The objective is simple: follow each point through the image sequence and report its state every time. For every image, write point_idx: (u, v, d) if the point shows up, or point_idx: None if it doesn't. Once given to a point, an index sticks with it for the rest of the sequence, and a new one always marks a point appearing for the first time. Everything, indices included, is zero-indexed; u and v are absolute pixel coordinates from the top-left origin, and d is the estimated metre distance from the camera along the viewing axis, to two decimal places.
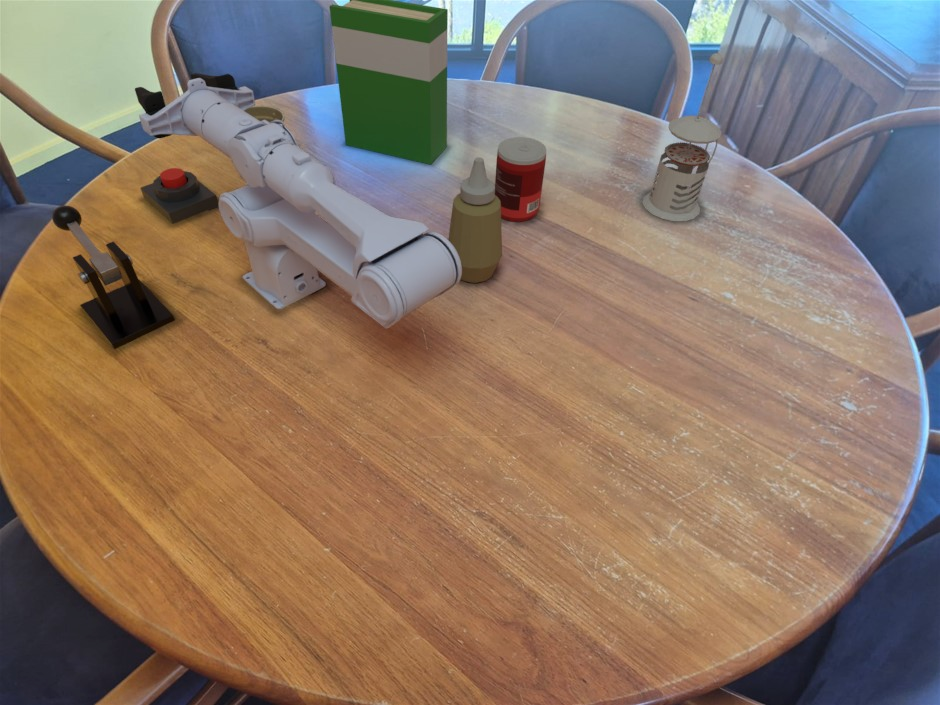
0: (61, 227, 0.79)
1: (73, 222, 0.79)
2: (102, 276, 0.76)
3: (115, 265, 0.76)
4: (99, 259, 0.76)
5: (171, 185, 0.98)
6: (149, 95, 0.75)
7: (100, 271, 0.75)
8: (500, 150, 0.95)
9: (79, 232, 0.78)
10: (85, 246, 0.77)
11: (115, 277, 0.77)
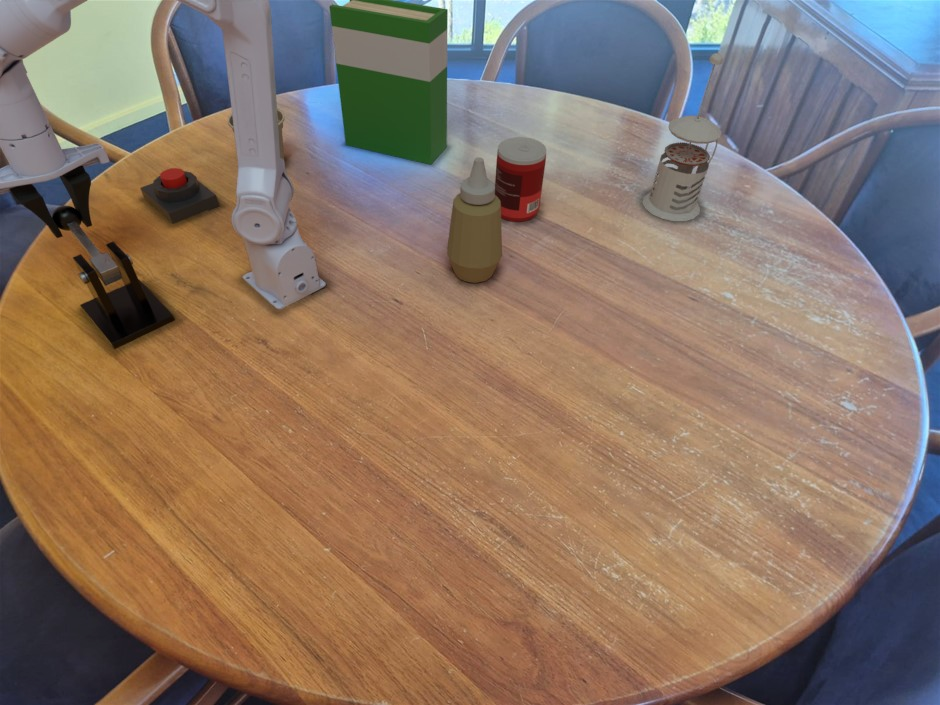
0: (61, 227, 0.79)
1: (73, 222, 0.79)
2: (102, 276, 0.76)
3: (115, 265, 0.76)
4: (99, 259, 0.76)
5: (171, 185, 0.98)
6: None
7: (100, 271, 0.75)
8: (500, 150, 0.95)
9: (79, 232, 0.78)
10: (85, 246, 0.77)
11: (115, 277, 0.77)
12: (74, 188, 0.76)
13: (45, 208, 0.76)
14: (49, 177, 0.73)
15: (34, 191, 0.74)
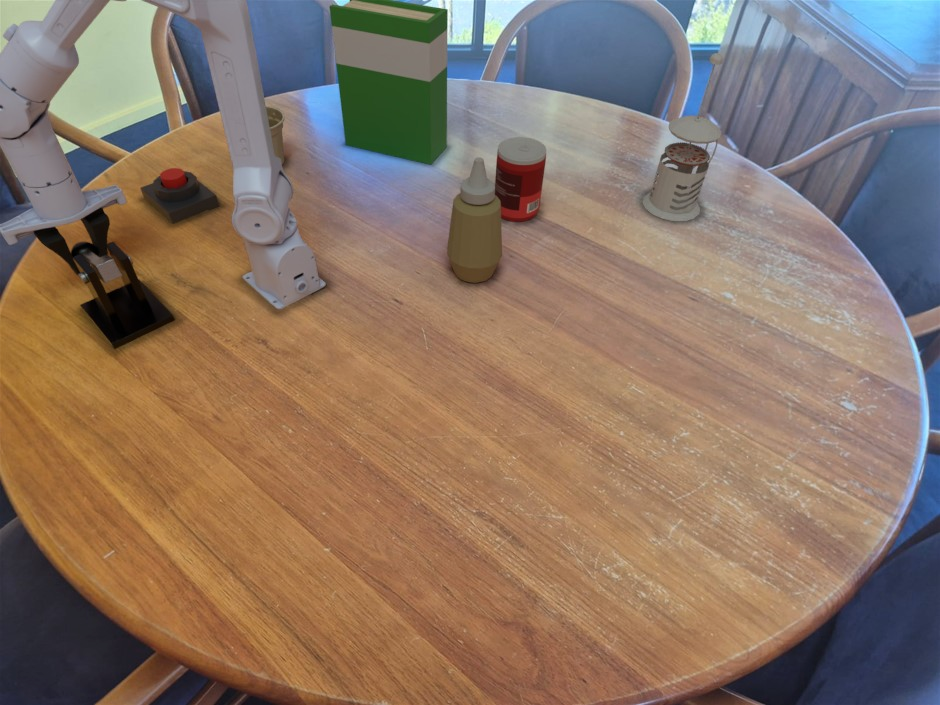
0: None
1: (87, 251, 0.82)
2: (98, 270, 0.75)
3: (111, 258, 0.76)
4: (98, 259, 0.77)
5: (171, 185, 0.98)
6: None
7: (96, 265, 0.75)
8: (500, 150, 0.95)
9: (90, 254, 0.81)
10: (92, 260, 0.79)
11: (113, 273, 0.76)
12: (94, 229, 0.80)
13: (66, 248, 0.80)
14: (71, 220, 0.77)
15: (56, 233, 0.78)
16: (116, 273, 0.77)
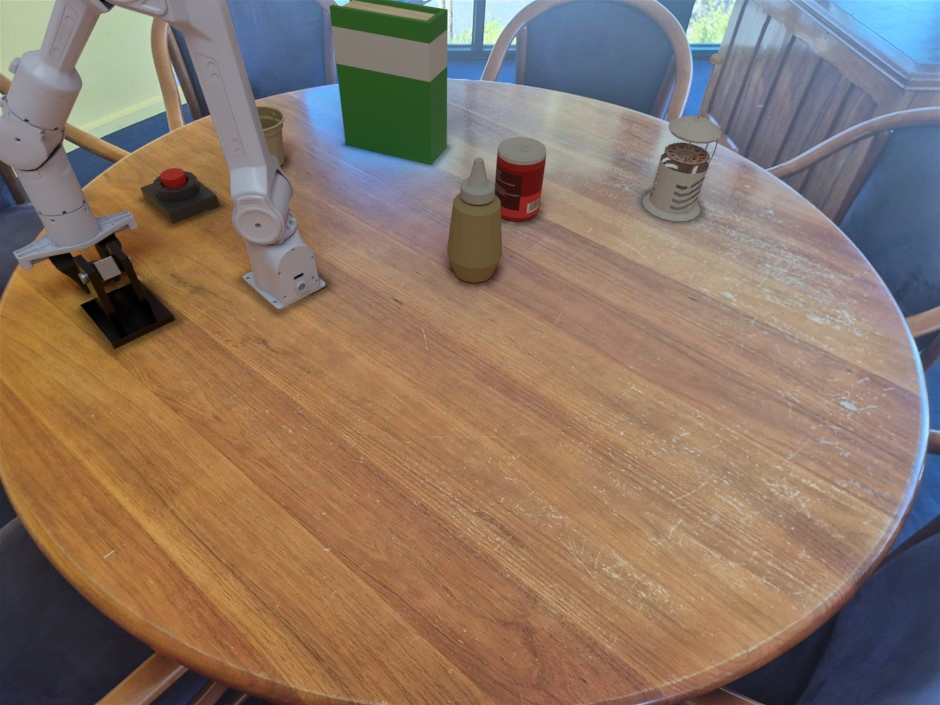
0: None
1: None
2: (97, 267, 0.75)
3: (109, 256, 0.76)
4: None
5: (171, 185, 0.98)
6: None
7: (94, 262, 0.75)
8: (500, 150, 0.95)
9: None
10: None
11: (112, 271, 0.76)
12: (106, 254, 0.83)
13: None
14: (84, 246, 0.80)
15: (70, 258, 0.81)
16: (115, 270, 0.76)
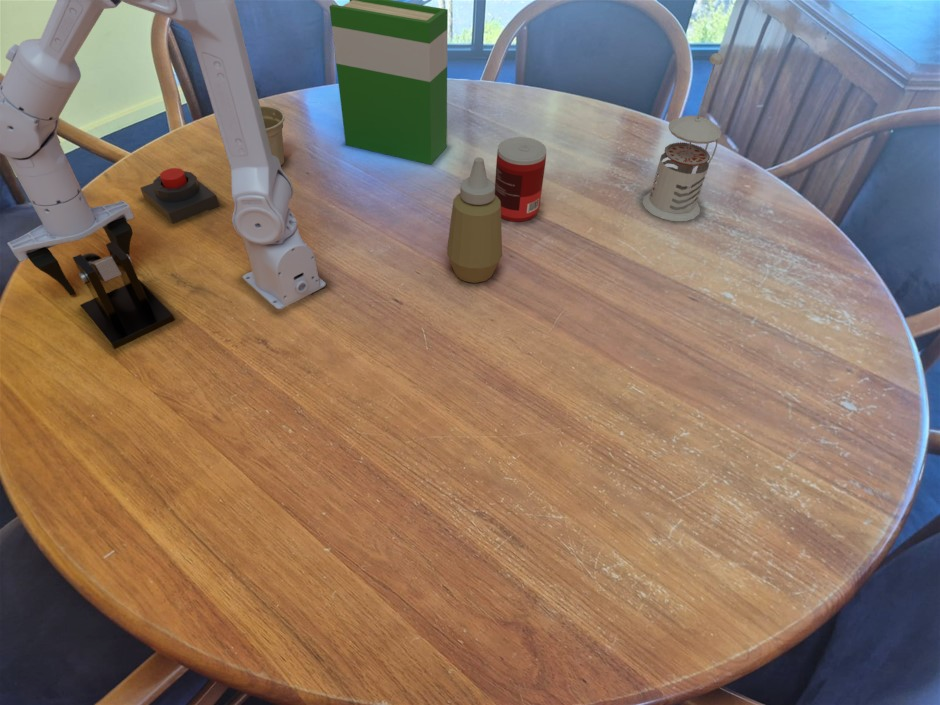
0: None
1: (93, 261, 0.83)
2: (97, 268, 0.75)
3: (110, 257, 0.76)
4: (98, 260, 0.77)
5: (171, 185, 0.98)
6: None
7: (95, 263, 0.75)
8: (500, 150, 0.95)
9: None
10: None
11: (113, 272, 0.76)
12: (117, 239, 0.83)
13: (60, 270, 0.80)
14: (80, 237, 0.79)
15: (49, 255, 0.79)
16: (115, 271, 0.76)
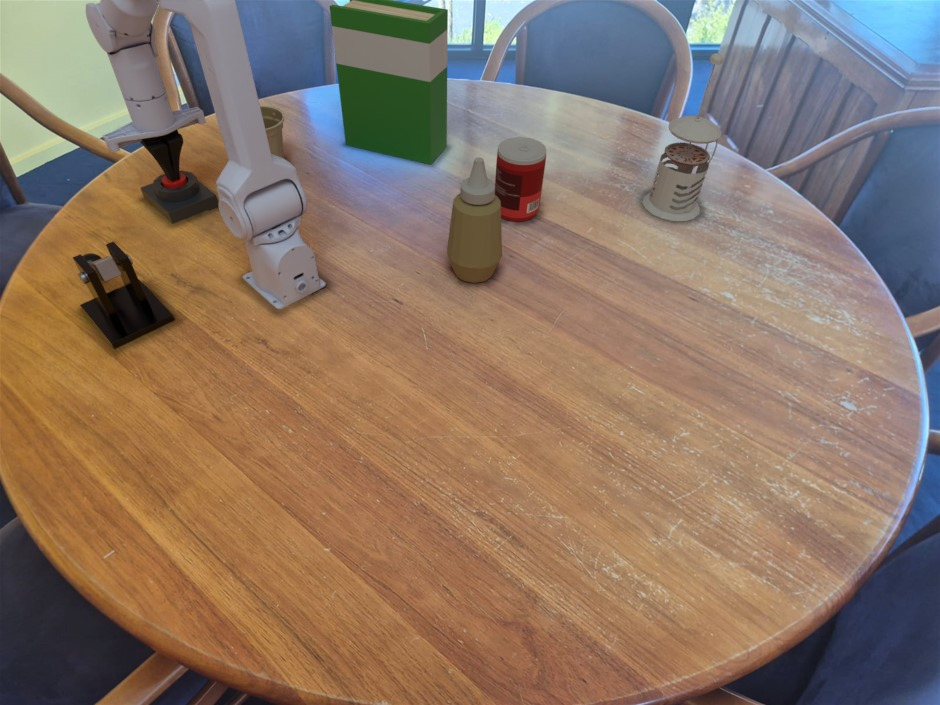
0: None
1: (93, 261, 0.83)
2: (97, 268, 0.75)
3: (110, 257, 0.76)
4: (98, 260, 0.77)
5: None
6: None
7: (95, 263, 0.75)
8: (500, 150, 0.95)
9: None
10: None
11: (113, 272, 0.76)
12: (170, 146, 0.93)
13: (167, 155, 0.94)
14: (163, 132, 0.91)
15: (160, 141, 0.93)
16: (115, 271, 0.76)
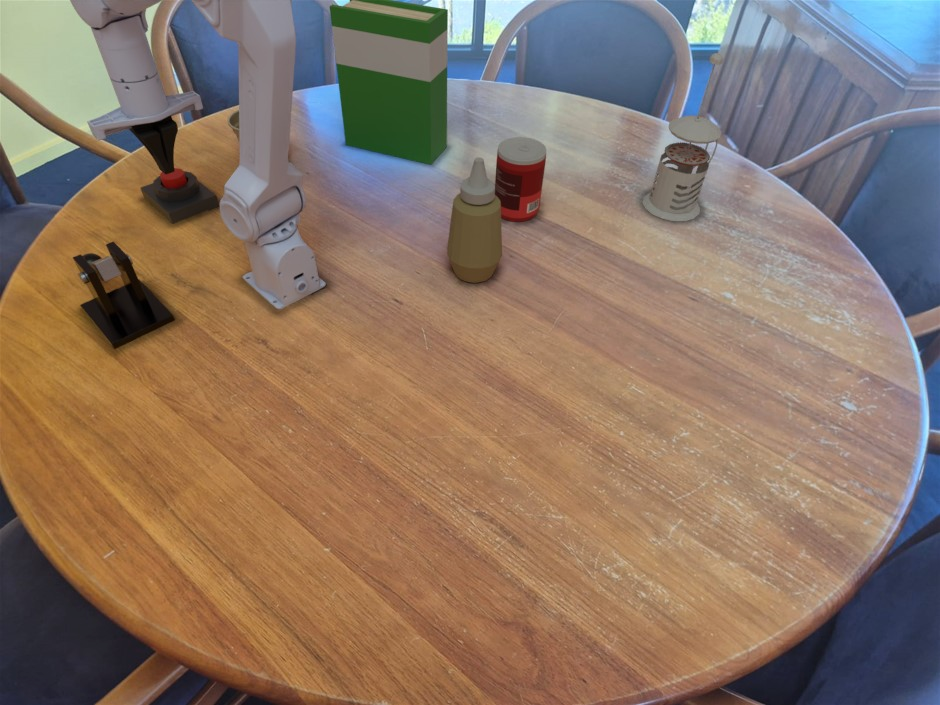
0: None
1: (93, 261, 0.83)
2: (97, 268, 0.75)
3: (110, 257, 0.76)
4: (98, 260, 0.77)
5: (171, 185, 0.98)
6: None
7: (95, 263, 0.75)
8: (500, 150, 0.95)
9: None
10: None
11: (113, 272, 0.76)
12: (164, 134, 0.83)
13: (159, 145, 0.85)
14: (155, 119, 0.81)
15: (151, 128, 0.83)
16: (115, 271, 0.76)
